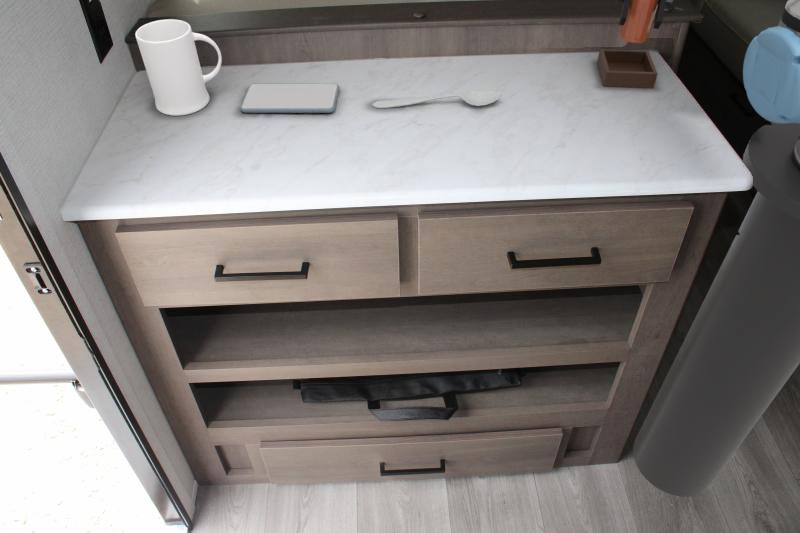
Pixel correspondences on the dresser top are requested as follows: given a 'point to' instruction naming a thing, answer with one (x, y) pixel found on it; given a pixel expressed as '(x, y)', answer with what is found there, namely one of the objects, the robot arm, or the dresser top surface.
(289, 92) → the smartphone
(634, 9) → the orange hollow tube
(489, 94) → the spoon
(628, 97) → the dresser top surface
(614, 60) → the tray
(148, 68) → the mug
